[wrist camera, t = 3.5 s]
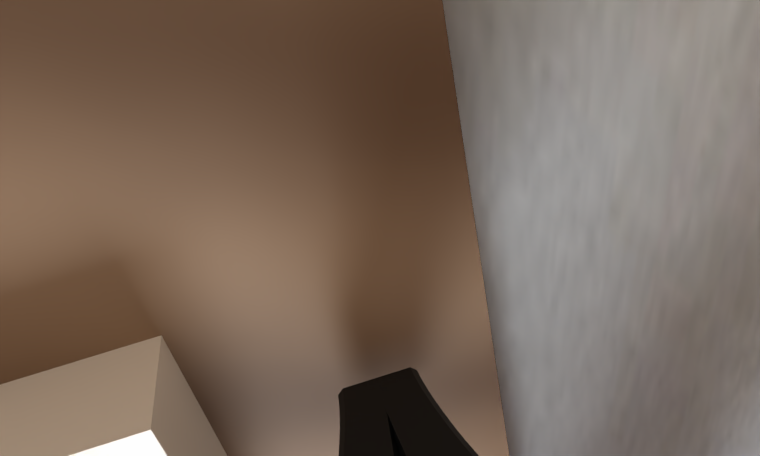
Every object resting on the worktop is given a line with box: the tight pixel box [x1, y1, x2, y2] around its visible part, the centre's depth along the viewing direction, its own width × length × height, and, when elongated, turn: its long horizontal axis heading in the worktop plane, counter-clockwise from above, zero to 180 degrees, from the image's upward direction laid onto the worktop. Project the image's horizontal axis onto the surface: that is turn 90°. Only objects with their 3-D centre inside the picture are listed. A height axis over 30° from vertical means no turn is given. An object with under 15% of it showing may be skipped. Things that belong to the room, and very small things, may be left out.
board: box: [0, 0, 509, 456], centre depth 12 cm, size 16×13×1 cm
